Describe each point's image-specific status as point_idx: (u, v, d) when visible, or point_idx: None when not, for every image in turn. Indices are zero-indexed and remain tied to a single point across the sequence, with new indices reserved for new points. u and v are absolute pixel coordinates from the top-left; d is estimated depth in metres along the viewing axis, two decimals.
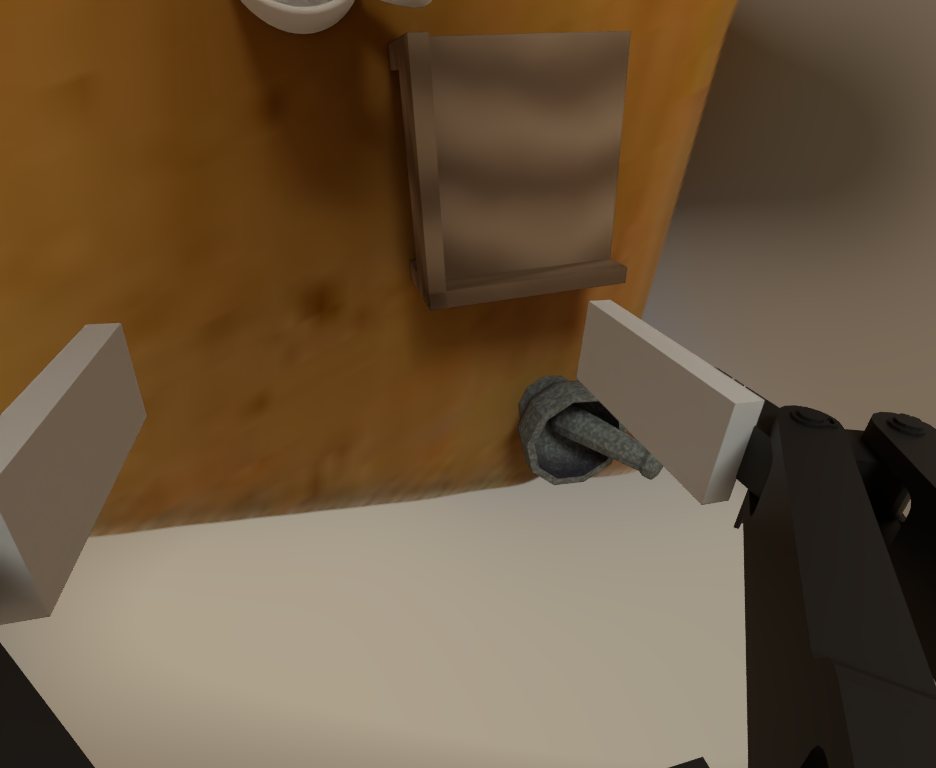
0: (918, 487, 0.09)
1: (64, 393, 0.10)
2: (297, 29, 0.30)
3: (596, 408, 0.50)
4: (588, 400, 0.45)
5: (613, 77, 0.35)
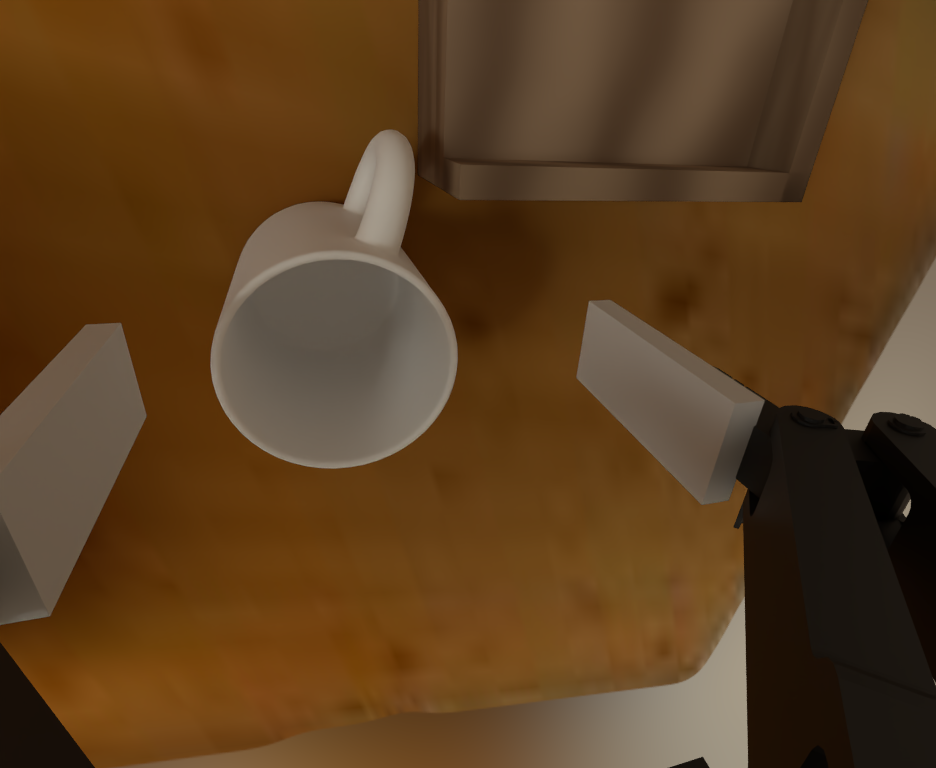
0: (918, 487, 0.09)
1: (64, 394, 0.10)
2: None
3: None
4: None
5: None
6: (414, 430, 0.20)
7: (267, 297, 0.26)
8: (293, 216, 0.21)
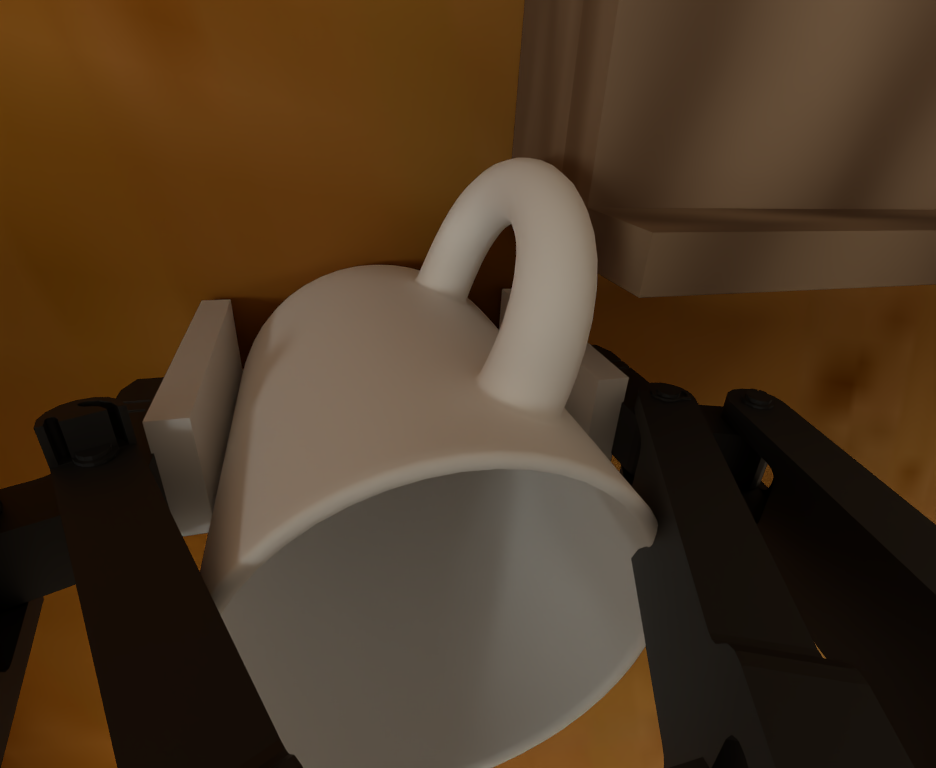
0: (778, 462, 0.10)
1: (212, 352, 0.12)
2: None
3: None
4: None
5: None
6: (563, 709, 0.11)
7: None
8: (339, 306, 0.12)
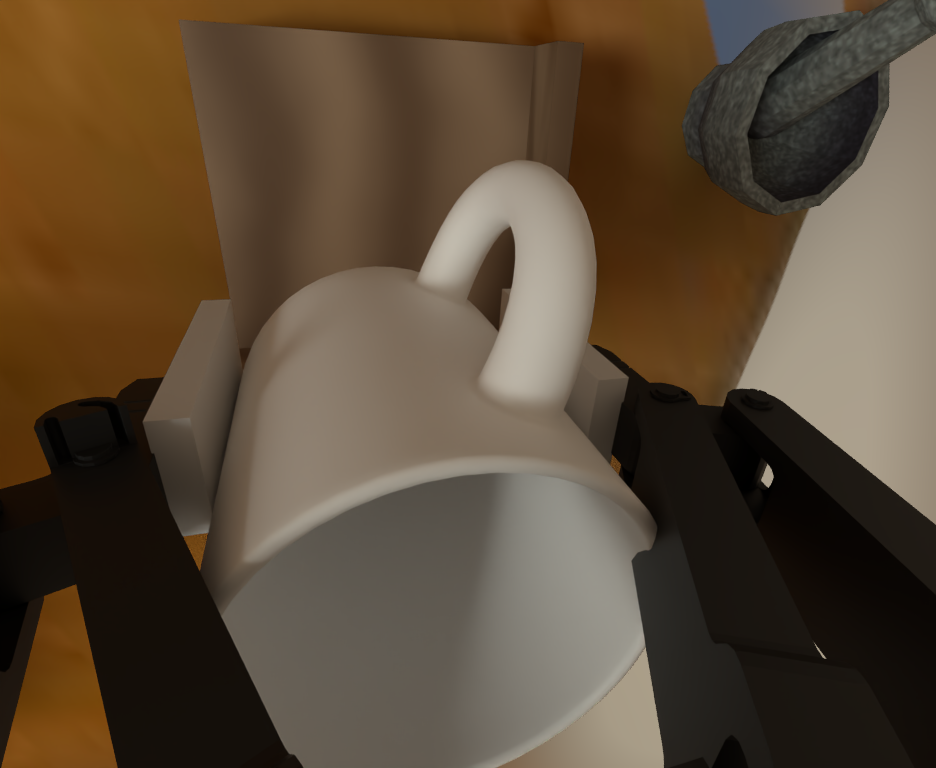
0: (778, 462, 0.10)
1: (212, 353, 0.12)
2: None
3: None
4: (756, 103, 0.26)
5: (253, 53, 0.21)
6: (563, 711, 0.11)
7: None
8: (339, 308, 0.12)
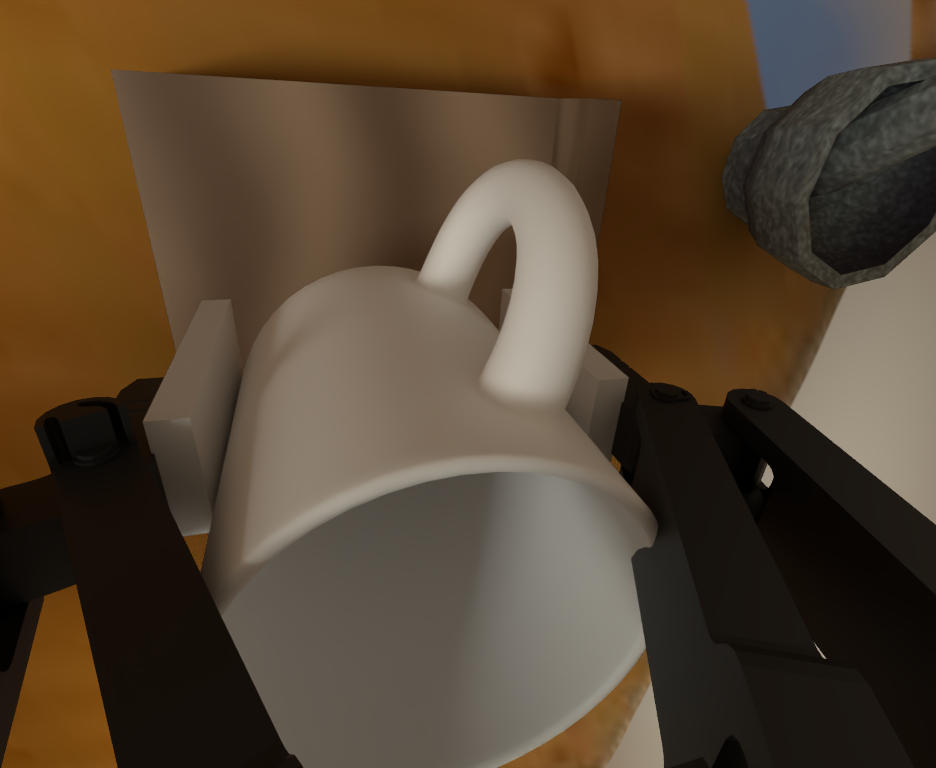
0: (778, 462, 0.10)
1: (212, 352, 0.12)
2: None
3: None
4: (821, 165, 0.22)
5: (209, 109, 0.17)
6: (564, 711, 0.11)
7: None
8: (340, 307, 0.12)
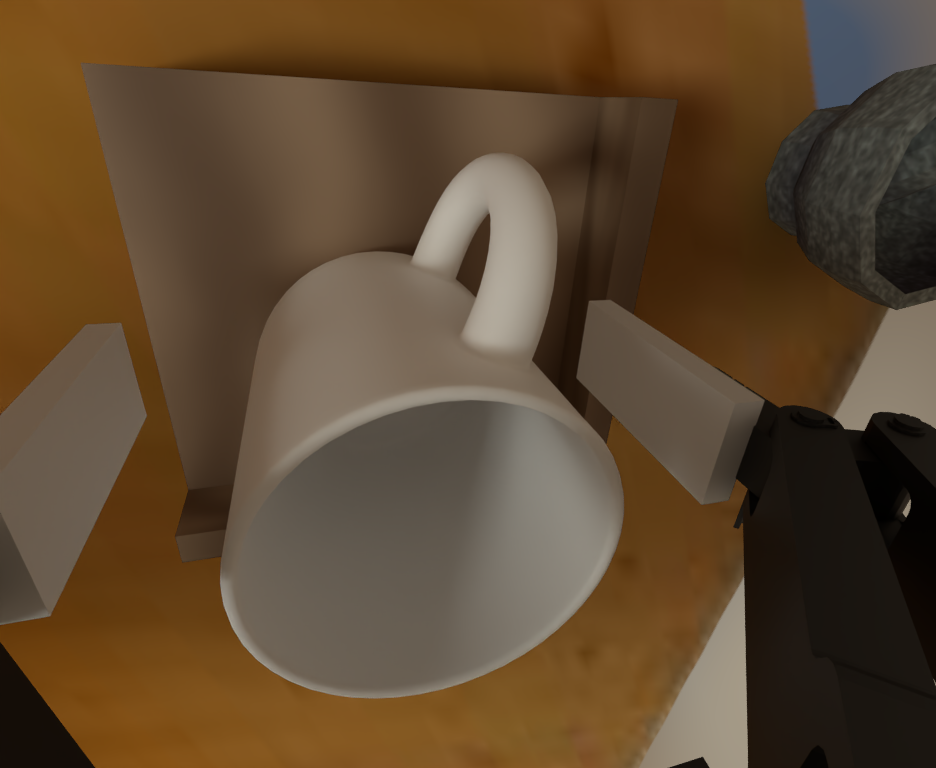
0: (918, 487, 0.09)
1: (65, 394, 0.10)
2: None
3: None
4: (891, 173, 0.20)
5: (197, 109, 0.14)
6: (540, 626, 0.13)
7: None
8: (343, 285, 0.14)
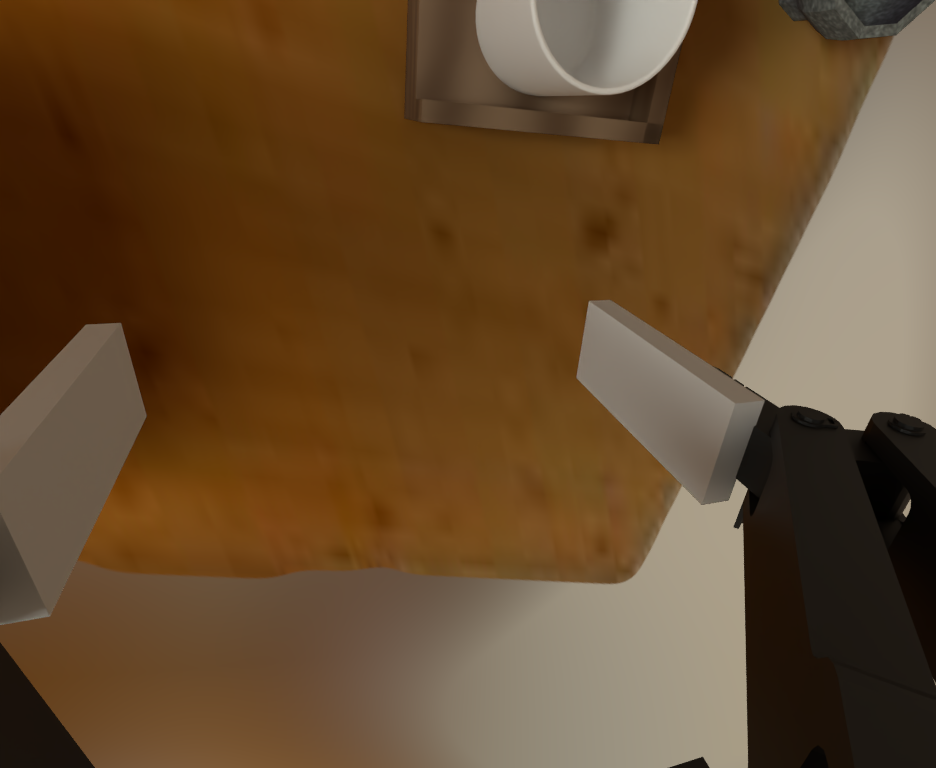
0: (918, 487, 0.09)
1: (65, 394, 0.10)
2: None
3: None
4: None
5: None
6: (651, 70, 0.25)
7: None
8: None
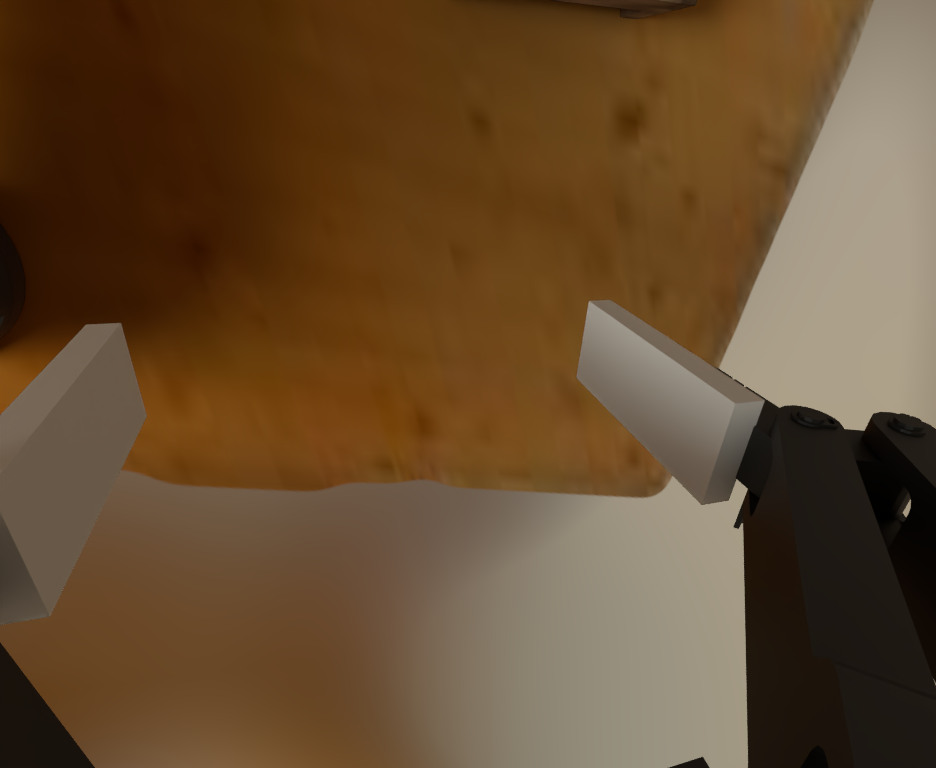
0: (918, 487, 0.09)
1: (64, 394, 0.10)
2: None
3: None
4: None
5: None
6: None
7: None
8: None
